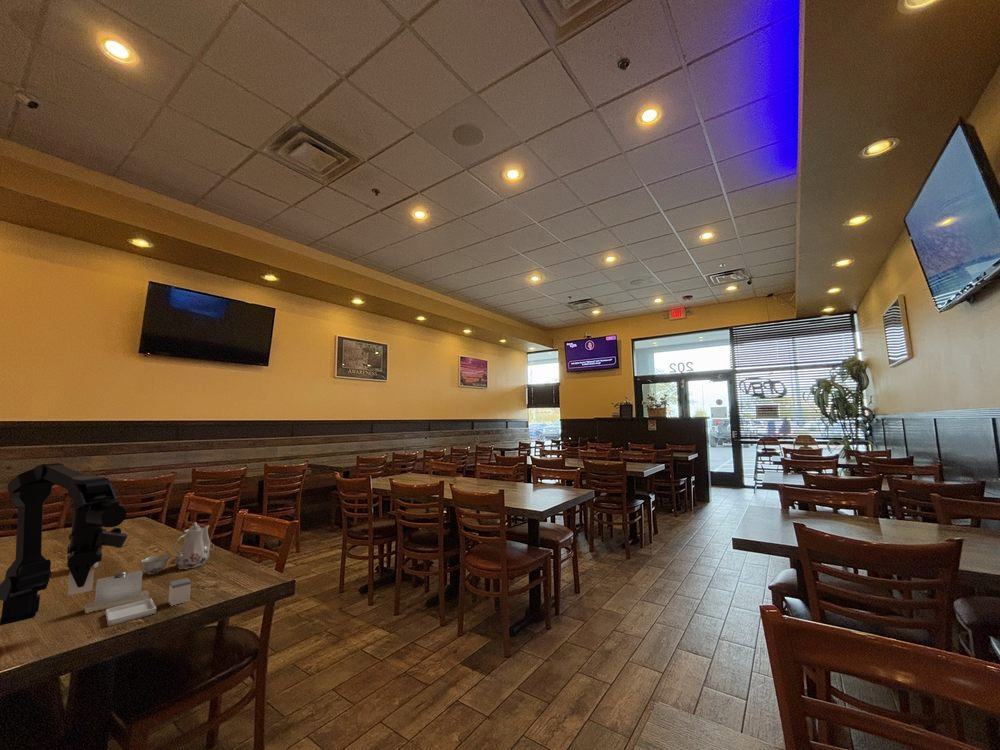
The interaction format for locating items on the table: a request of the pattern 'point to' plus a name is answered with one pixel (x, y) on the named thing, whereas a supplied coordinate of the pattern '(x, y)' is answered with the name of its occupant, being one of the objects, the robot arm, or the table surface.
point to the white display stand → (117, 591)
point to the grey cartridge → (179, 591)
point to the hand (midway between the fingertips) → (80, 584)
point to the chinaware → (183, 551)
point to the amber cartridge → (87, 586)
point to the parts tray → (130, 611)
